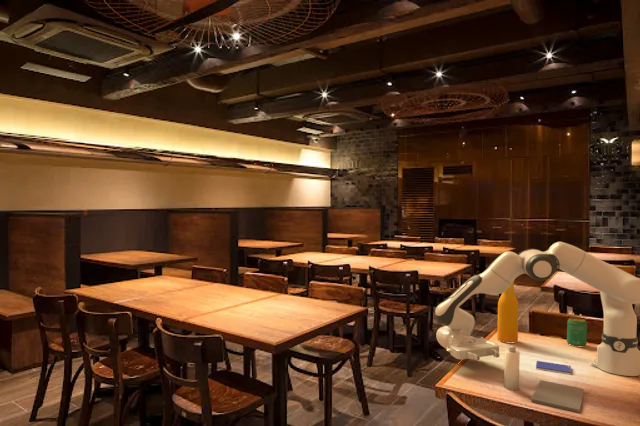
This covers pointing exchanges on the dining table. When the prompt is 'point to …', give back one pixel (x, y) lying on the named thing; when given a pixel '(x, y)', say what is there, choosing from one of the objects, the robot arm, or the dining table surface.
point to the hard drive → (553, 367)
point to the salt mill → (511, 368)
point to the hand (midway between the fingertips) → (488, 356)
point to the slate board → (558, 396)
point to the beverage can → (576, 331)
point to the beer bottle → (508, 316)
